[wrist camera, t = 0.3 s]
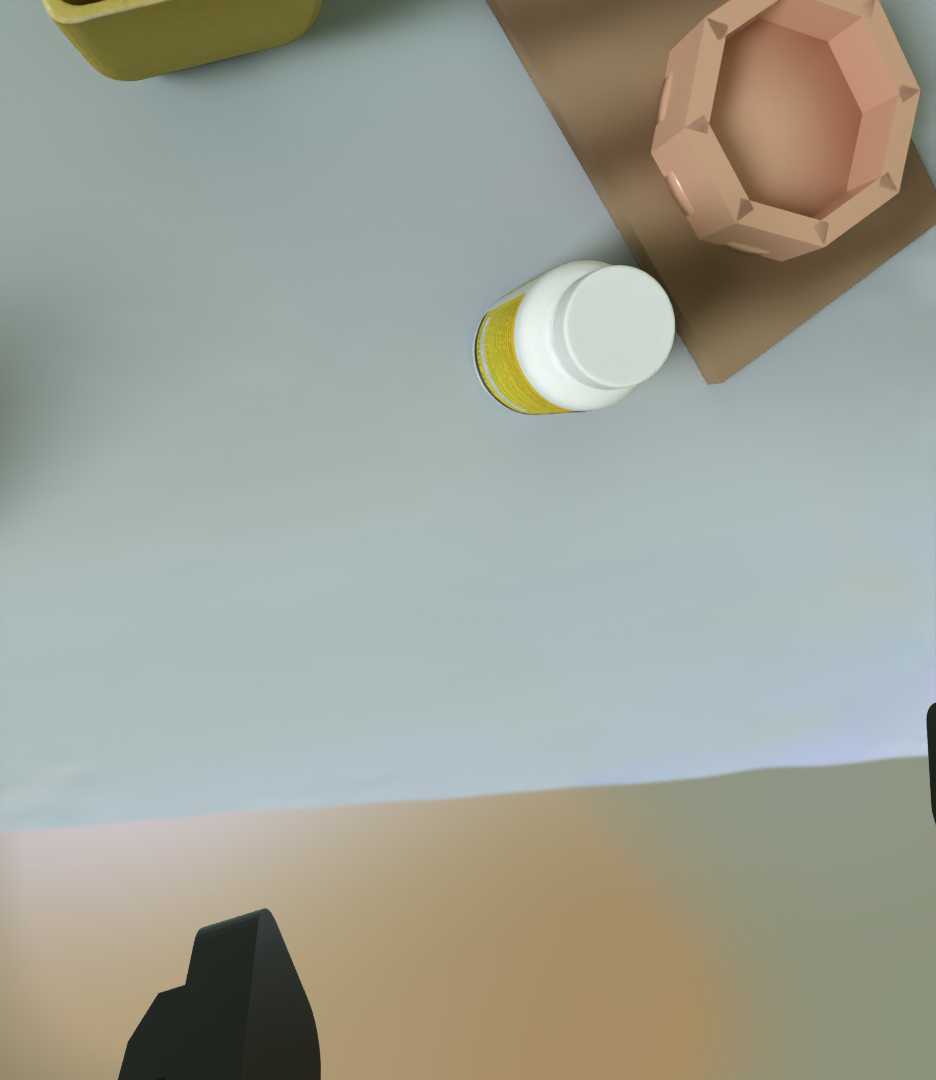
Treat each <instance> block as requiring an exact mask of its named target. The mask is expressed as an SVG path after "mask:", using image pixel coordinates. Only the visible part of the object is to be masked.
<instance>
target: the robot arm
mask: <svg viewBox="0 0 936 1080" xmlns="http://www.w3.org/2000/svg"><path fill="white" fill-rule="evenodd" d="M927 739H928V756H929V773H930V789H931V806H932V813H933V817H934V820H935V823H936V703H934V704H932V705H931V706H930V708H929V710H928V712H927ZM320 1078H321V1061H320V1049H319V1041H318V1034H317V1029H316V1024H315V1020H314V1016H313V1012H312V1009H311V1006H310V1003H309V1001H308V998H307V996H306V993H305V991H304V989H303V986H302V984H301V981H300V979H299V976H298V974H297V972H296V969H295V967H294V964H293V962H292V959H291V957H290V955H289V952H288V950H287V947H286V945H285V942H284V940H283V938H282V935H281V933H280V930H279V928H278V926H277V923H276V921H275V919H274V917H273V915H272V914H271V912H270V911H269V910H268V909H261V910H258V911H255V912H252V913H248V914H245V915H242V916H238V917H235V918H232V919H229V920H226V921H222V922H219V923H216V924H213V925H209V926H206V927H203V928H201V929H200V930H199V931H198V933H197V935H196V937H195V941H194V945H193V950H192V955H191V960H190V965H189V969H188V974H187V979H186V984H185V985H184V986H180V987H177V988H174V989H171V990H168V991H164V992H161V993H159V994H158V995H157V997H156V998H155V1000H154V1001H153V1003H152V1005H151V1006H150V1008H149V1009H148V1011H147V1013H146V1014H145V1016H144V1017H143V1019H142V1021H141V1022H140V1024H139V1025H138V1027H137V1028H136V1030H135V1032H134V1033H133V1035H132V1036H131V1038H130V1040H129V1041H128V1044H127V1048H126V1051H125V1055H124V1059H123V1063H122V1066H121V1070H120V1074H119V1078H118V1080H321V1079H320Z"/></svg>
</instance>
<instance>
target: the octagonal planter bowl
mask: <svg viewBox="0 0 936 1080" xmlns="http://www.w3.org/2000/svg"><path fill="white" fill-rule="evenodd" d="M919 96H920V88H919V86H918V84H917V81H916V79H915V77H914V75H913V73H912V71H911V68H910V66H909V64H908V62H907V60H906V58H905V55H904V53H903V51H902V49H901V47H900V45H899V42H898V40H897V38H896V36H895V34H894V32H893V29H892V27H891V25H890V23H889V21H888V19H887V16H886V14H885V12H884V10H883V8H882V6H881V3H880V1H879V0H730V1H728V2H727V3H725V4H724V5H722V6H721V7H719V8H718V9H716V10H715V11H713V12H712V13H711V14H709V15H708V16H706V17H705V18H704V19H703V20H702V21H701V22H700V23H699V24H698V25H697V26H696V27H695V28H694V29H692V30H691V31H690V32H689V33H688V34H687V35H686V36H685V37H684V38H683V39H682V40H681V41H680V42H679V43H678V44H677V45H676V46H675V47H674V48H673V49H672V50H671V51H670V53H669V58H668V64H667V69H666V74H665V79H664V82H663V84H662V88H661V92H660V96H659V100H658V106H657V114H656V128H655V133H654V138H653V144H652V149H651V154H652V156H653V158H654V160H655V162H656V163H657V165H658V167H659V169H660V171H661V172H662V174H663V176H664V178H665V181H666V184H667V186H668V188H669V190H670V192H671V194H672V196H673V198H674V200H675V202H676V203H677V205H678V206H679V208H680V209H681V211H682V212H683V213H684V215H685V216H686V217H687V219H688V221H689V223H690V225H691V226H692V228H693V230H694V232H695V234H696V235H697V237H698V239H699V240H702V241H706V242H710V243H713V244H717V245H721V246H723V247H725V248H727V249H730V250H733V251H736V252H738V253H742V254H747V255H753V256H762V257H766V258H770V259H773V260H777V261H781V262H782V261H785V260H788V259H791V258H794V257H797V256H800V255H803V254H806V253H809V252H812V251H815V250H818V249H821V248H824V247H825V246H827V245H828V244H830V243H831V242H832V241H834V240H835V239H836V238H838V237H839V236H840V235H842V234H843V233H845V232H846V231H847V230H849V229H850V228H851V227H853V226H854V225H855V224H857V223H858V222H860V221H861V220H862V219H864V218H865V217H866V216H868V215H869V214H870V213H872V212H873V211H875V210H876V209H877V208H879V207H880V206H881V205H883V204H884V203H886V202H887V201H888V200H890V199H891V198H892V197H894V196H895V195H896V194H898V193H899V190H900V185H901V180H902V176H903V171H904V166H905V161H906V157H907V152H908V147H909V143H910V138H911V133H912V129H913V124H914V119H915V114H916V110H917V105H918V100H919Z"/></svg>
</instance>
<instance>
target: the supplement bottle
mask: <svg viewBox="0 0 936 1080" xmlns="http://www.w3.org/2000/svg"><path fill="white" fill-rule="evenodd" d="M674 336H675V317H674V312H673V308H672V305H671V303H670V300H669V298H668V295H667V294H666V292H665V291H664V289H663V288H662V287H661V285H660V284H659V283H658V282H657V281H656V280H655V279H654V278H653V277H652V276H650V275H649V274H648V273H646V272H644V271H642V270H640V269H637V268H634V267H631V266H625V265H610V264H607V263H605V262H601V261H595V260H579V261H573V262H569V263H565V264H562V265H560V266H558V267H555V268H553V269H551V270H549V271H547V272H545V273H544V274H542V275H540V276H539V277H537V278H535V279H534V280H532V281H530V282H528V283H526V284H525V285H523V286H521V287H519V288H517V289H516V290H514V291H512V292H510V293H508V294H507V295H505V296H503V297H502V298H501V299H499V300H498V301H497V302H495V303H494V304H493V305H492V306H491V307H490V308H489V309H488V310H487V311H486V313H485V314H484V315H483V317H482V319H481V320H480V322H479V324H478V326H477V329H476V332H475V336H474V340H473V352H472V354H473V363H474V368H475V371H476V374H477V377H478V379H479V381H480V383H481V385H482V386H483V388H484V389H485V391H486V392H487V393H488V394H489V395H490V396H491V397H492V398H493V399H494V400H495V401H496V402H497V403H499V404H500V405H502V406H503V407H505V408H507V409H509V410H511V411H514V412H517V413H521V414H528V415H541V414H555V413H569V412H585V411H592V410H597V409H602V408H606V407H609V406H611V405H613V404H615V403H617V402H619V401H621V400H622V399H624V398H625V397H627V396H628V395H629V394H630V393H632V392H633V391H634V390H635V389H636V388H637V387H638V385H639V384H640V383H642V382H644V381H645V380H647V379H649V378H650V377H651V376H652V375H654V374H655V373H656V372H657V371H658V370H659V369H660V368H661V366H662V365H663V364H664V362H665V361H666V359H667V357H668V355H669V353H670V351H671V348H672V345H673V340H674Z"/></svg>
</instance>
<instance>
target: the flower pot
mask: <svg viewBox="0 0 936 1080" xmlns="http://www.w3.org/2000/svg"><path fill="white" fill-rule="evenodd" d="M323 1H324V0H42V2H43V4H44V6H45V9H46V11H47V13H48V14H49V16H50V17H51V18H52V20H53V21H54V22H55V23H56V24H57V26H58V27H59V28H60V29H61V30H62V32H63V33H64V34H65V35H66V36H67V38H68V39H69V40H70V41H71V43H72V44H73V45H74V46H75V47H76V48H77V49H78V51H79V52H80V53H81V54H82V55H83V56H84V58H85V59H86V60H87V61H88V62H89V63H90V64H91V65H92V66H93V67H94V68H95V69H96V70H97V71H98V72H99V73H101V74H103V75H105V76H107V77H109V78H111V79H115V80H121V81H137V80H142V79H146V78H150V77H154V76H158V75H162V74H166V73H170V72H174V71H178V70H182V69H186V68H190V67H194V66H198V65H202V64H206V63H210V62H214V61H218V60H222V59H226V58H231V57H235V56H239V55H243V54H247V53H252V52H256V51H260V50H265V49H269V48H274V47H278V46H281V45H284V44H287V43H289V42H292V41H294V40H296V39H297V38H299V37H301V36H302V35H303V34H305V33H306V32H307V31H308V30H309V28H310V27H311V26H312V24H313V23H314V21H315V19H316V17H317V15H318V13H319V11H320V8H321V6H322V3H323Z"/></svg>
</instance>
